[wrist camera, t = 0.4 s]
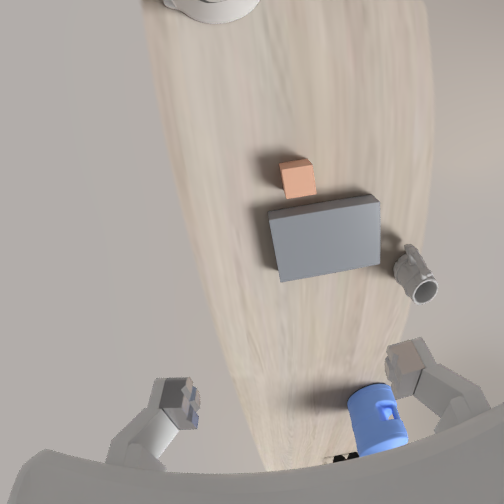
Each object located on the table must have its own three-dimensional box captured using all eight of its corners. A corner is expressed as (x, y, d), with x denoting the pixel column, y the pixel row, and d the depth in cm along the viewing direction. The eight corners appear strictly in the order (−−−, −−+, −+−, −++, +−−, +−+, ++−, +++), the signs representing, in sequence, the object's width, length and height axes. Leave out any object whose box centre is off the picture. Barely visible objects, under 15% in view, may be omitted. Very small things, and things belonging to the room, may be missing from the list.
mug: (393, 285, 63) (414, 319, 53) (386, 242, 58) (411, 274, 48) (422, 273, 62) (445, 305, 51) (417, 230, 57) (446, 259, 46)
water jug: (356, 413, 91) (372, 481, 66) (339, 397, 84) (355, 475, 60) (396, 394, 86) (419, 462, 62) (383, 375, 80) (409, 453, 55)
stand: (267, 211, 55) (268, 220, 52) (372, 194, 53) (379, 201, 50) (278, 271, 61) (280, 282, 58) (373, 253, 59) (379, 263, 56)
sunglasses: (359, 450, 110) (361, 459, 106) (355, 459, 119) (356, 467, 114) (330, 455, 111) (332, 465, 107) (328, 464, 120) (329, 472, 115)
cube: (278, 163, 51) (281, 169, 46) (307, 158, 50) (312, 164, 46) (283, 190, 53) (286, 199, 49) (311, 185, 53) (316, 194, 48)
